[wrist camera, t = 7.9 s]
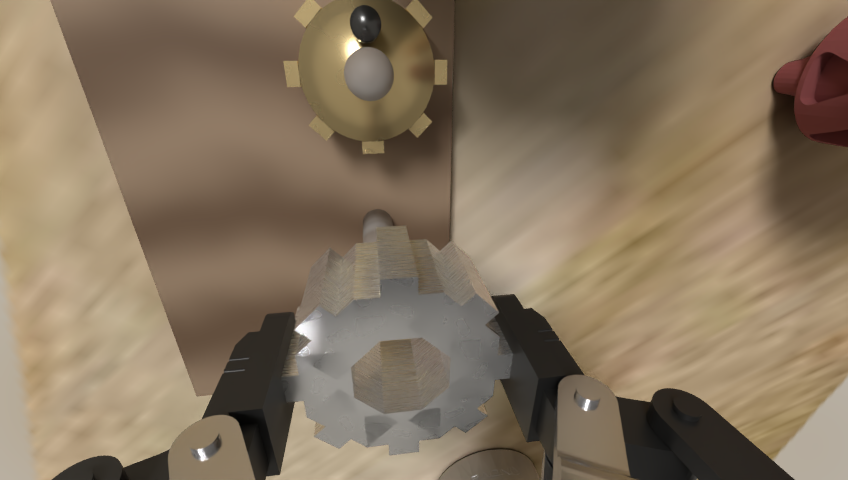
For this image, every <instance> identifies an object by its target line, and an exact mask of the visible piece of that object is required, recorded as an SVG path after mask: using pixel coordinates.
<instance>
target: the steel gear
mask: <svg viewBox="0 0 848 480" xmlns="http://www.w3.org/2000/svg"><path fill="white" fill-rule="evenodd" d="M376 234H377V242H370V243H356V244H355V245H354V246H353V247H352V248H351V249H350V250H349V251H348V252H347V253H346V254H345V255H344V256H343V257H342V256H341V255H339V254H338V253H337V252H335V251H334V250H333V249H331V248H329V249H328V250H327V251H326V252H325V253H324V254H323V255H322V256H321V257H320V258H319V259H318V260H317V261H316V262H315V263H314V264H313V266H312V267H311V269H310V272H309V276H308V280H307V284H306V288H305V291H304V295H303V299H302V303H301V307H298V308H297V311H296V315H295V320H296V323H295V326H294V330H293V334H292V338H291V342H290V346H289V349H288V353H287V357H286V361H285V365H284V368H283V372H282V376H281V378H282V383H283V387H284V392H285V396H286V401H287V403H288V402H297V401H304V405H305V410H306V415H307V418H309V419H311V420H313V421H315V422H316V426H315V433H314V437H316V438H318V439H320V440H322V441H324V442H326V443H328V444H331V445H333V446H335V447H337V448H339V449H340V448H341V447H342V446H343V445H344V444H345V443H347V442H348V441H349V440H350V439H352V440H354V441H356V442H358V443H360V444H362V445H364V446H366V447H373V446H381V445H389V455H397V454H404V453H412V452H419V441H420V440H428V439H436V438H440V437H442V436H443V435H444V434H445V433H447V432H448V431H449V430H450V429H452V428H453V427H454V426H455V427H457V428H459V429H460V430H462V431H464V432H465V433H466V432H467V431H469V430H470V429H471V428H472V427H474V426H475V425H476V424H478V423H479V422H480V421H481V420H483V419H484V418H485V417H487V416H488V415H487V412H486V409H485V406H484V403H485V402H486V401H487V400H488V399H490V398H491V397H492V396H493V391H494V382H495V380H499V379H508V378H510V371H511V364H512V357H513V353H512V351H511V349H510V347H509V345H508V343H507V341H506V339H505V337H504V335H503V333H502V331H501V329H500V327H499V325H498V323H497V321H496V319H495V316H496V315H497V314H498V313H499V311H498V309H497V307H496V306H495V304H494V302H493V300H492V298H491V296H490V294H489V292H488V290H487V289H486V287H485V285H484V283H483V281H482V279H481V277H480V275H479V273H478V272H477V270H476V268H475V266H474V264H473V262H472V260H471V258H470V257H469V256H468V255H467V254H466V253H465V252H464V251H463V250H461V249H460V248H459V247H458V246H457V245H456V244H455V243H454V242H452V241H450V242H449V243H448V244H447V245H446V246H445V247H444V248H443V249H442V250H440V251H439V250H438V249H437V248H436V247H435V246H434V245H432V244H431V243H430V242H429V241H428V240H427V239H422V240H409V236H408V232H407V228H406V226H389V227H376ZM401 339H406V340H401ZM390 340H395V341H390ZM380 341H384V342H380Z"/></svg>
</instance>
